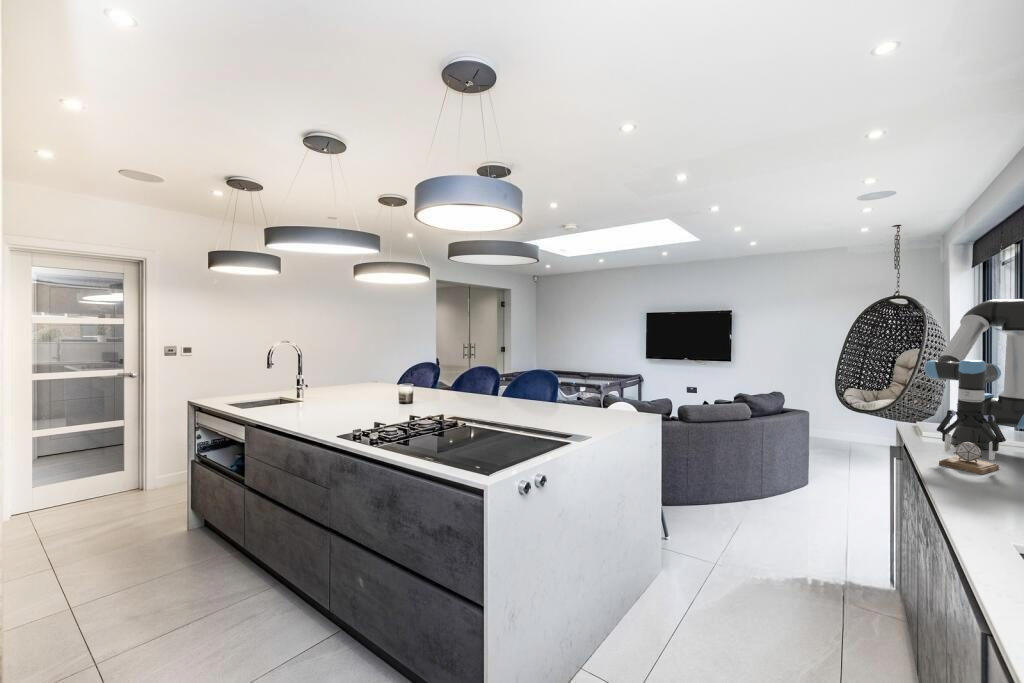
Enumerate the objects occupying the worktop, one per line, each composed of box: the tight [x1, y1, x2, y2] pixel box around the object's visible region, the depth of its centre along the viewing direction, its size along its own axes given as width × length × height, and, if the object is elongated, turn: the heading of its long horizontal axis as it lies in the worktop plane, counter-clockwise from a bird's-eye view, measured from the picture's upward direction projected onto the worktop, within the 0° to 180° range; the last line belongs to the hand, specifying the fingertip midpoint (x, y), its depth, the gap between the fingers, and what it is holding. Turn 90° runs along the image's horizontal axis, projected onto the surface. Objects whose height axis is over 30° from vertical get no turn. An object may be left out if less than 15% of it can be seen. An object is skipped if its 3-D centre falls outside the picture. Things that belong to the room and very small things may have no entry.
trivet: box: [938, 455, 1000, 475], centre depth 192 cm, size 13×13×2 cm
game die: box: [953, 440, 984, 463], centre depth 192 cm, size 9×8×10 cm
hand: (968, 454), depth 191 cm, fingers open, 13 cm apart
